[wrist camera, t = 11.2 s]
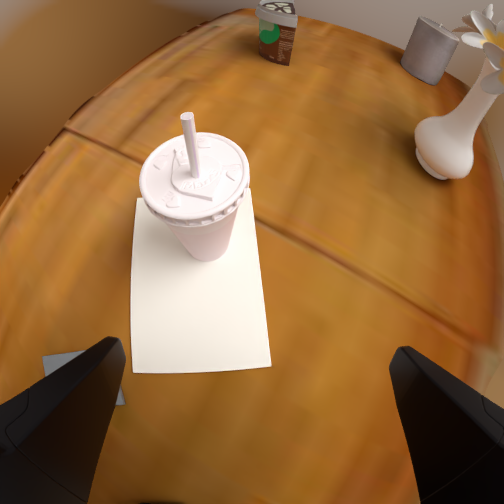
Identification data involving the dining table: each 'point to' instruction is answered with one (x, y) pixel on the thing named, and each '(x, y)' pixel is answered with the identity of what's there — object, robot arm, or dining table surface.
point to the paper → (196, 301)
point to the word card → (59, 360)
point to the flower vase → (464, 104)
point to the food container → (276, 29)
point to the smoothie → (196, 188)
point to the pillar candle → (429, 51)
